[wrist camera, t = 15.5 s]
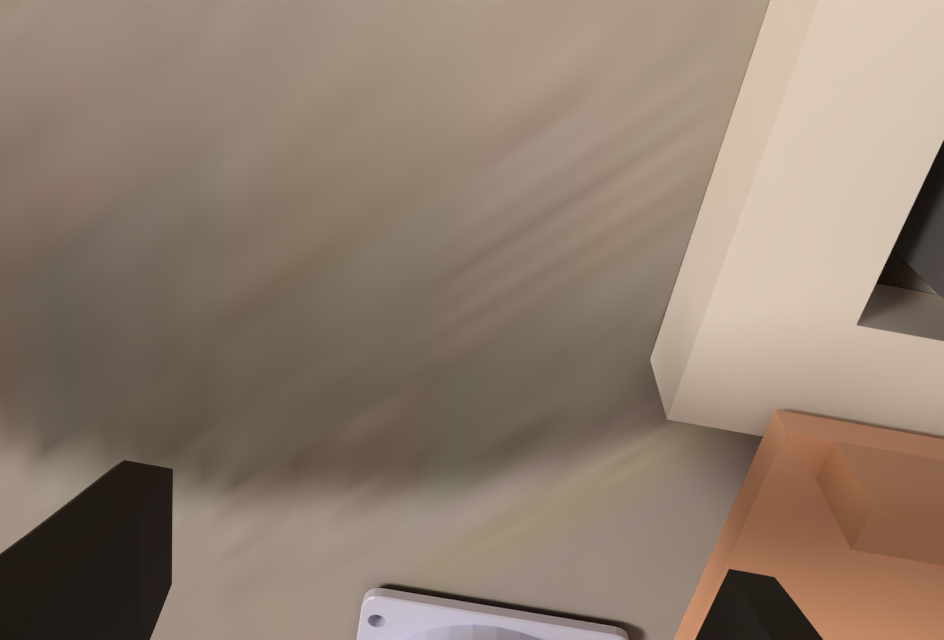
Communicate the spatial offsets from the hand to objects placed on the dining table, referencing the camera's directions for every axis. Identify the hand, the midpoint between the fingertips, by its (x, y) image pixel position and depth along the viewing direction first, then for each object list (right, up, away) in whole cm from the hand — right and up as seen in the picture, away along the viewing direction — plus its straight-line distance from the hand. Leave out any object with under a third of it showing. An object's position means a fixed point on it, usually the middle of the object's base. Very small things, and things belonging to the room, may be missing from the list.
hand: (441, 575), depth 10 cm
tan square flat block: (+10, -3, +8) cm, 13 cm away
